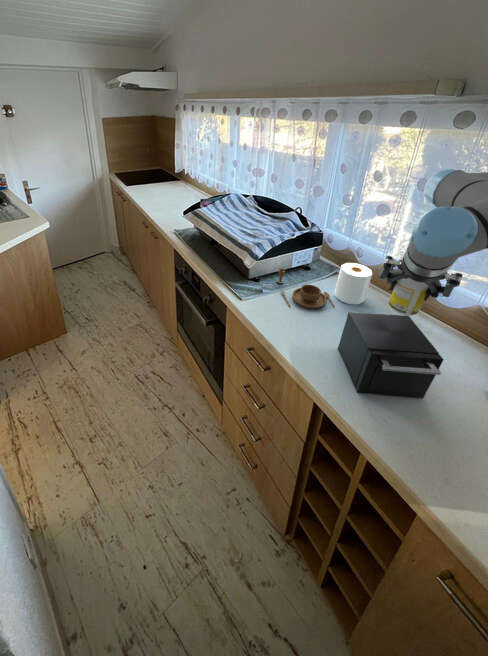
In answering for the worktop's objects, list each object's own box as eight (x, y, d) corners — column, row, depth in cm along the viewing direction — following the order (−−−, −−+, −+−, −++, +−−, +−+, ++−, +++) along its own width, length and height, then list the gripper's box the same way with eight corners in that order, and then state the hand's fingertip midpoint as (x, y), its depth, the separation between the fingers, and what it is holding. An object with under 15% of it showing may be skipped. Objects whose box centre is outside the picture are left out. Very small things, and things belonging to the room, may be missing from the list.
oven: (419, 392, 79) (439, 353, 72) (354, 387, 81) (368, 348, 74) (393, 352, 91) (408, 315, 85) (337, 348, 93) (348, 312, 86)
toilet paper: (353, 287, 121) (360, 261, 116) (369, 303, 112) (379, 275, 107) (329, 290, 120) (335, 263, 115) (343, 306, 111) (351, 278, 106)
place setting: (290, 311, 109) (292, 297, 106) (274, 280, 127) (276, 268, 124) (338, 309, 110) (342, 296, 107) (315, 279, 127) (318, 267, 124)
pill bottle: (418, 306, 79) (434, 267, 73) (417, 320, 74) (435, 279, 68) (388, 298, 82) (402, 260, 76) (386, 310, 77) (401, 271, 72)
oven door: (430, 409, 75) (452, 370, 68) (361, 403, 76) (376, 364, 70) (419, 393, 79) (439, 354, 72) (354, 387, 80) (368, 349, 74)
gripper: (498, 256, 55) (460, 290, 74) (377, 230, 66) (371, 266, 85) (487, 294, 54) (451, 318, 73) (365, 261, 64) (362, 290, 83)
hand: (408, 290), depth 79 cm, fingers closed on pill bottle, 6 cm apart
